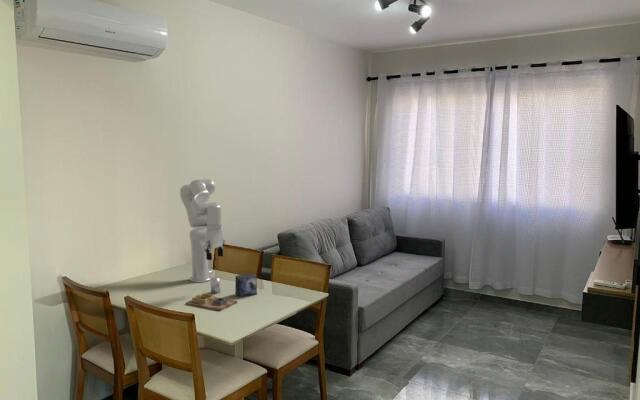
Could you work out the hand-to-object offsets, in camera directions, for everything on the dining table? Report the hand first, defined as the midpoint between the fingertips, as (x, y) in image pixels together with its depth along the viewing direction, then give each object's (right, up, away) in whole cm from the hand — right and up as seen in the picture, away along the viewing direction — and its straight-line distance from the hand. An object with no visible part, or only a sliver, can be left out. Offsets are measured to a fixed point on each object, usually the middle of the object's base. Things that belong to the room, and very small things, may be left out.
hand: (214, 258), depth 265 cm
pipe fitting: (0, -19, +3) cm, 20 cm away
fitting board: (+2, -22, -16) cm, 27 cm away
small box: (+17, -20, 0) cm, 27 cm away
